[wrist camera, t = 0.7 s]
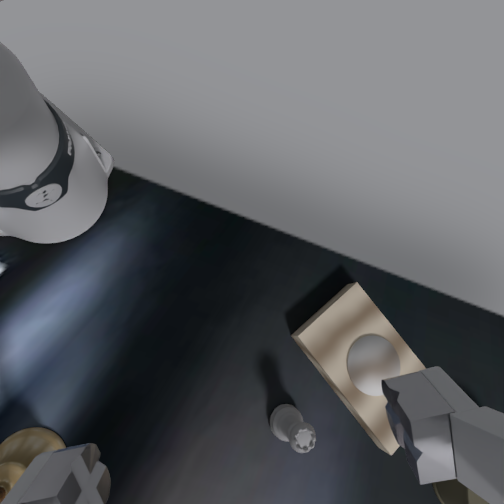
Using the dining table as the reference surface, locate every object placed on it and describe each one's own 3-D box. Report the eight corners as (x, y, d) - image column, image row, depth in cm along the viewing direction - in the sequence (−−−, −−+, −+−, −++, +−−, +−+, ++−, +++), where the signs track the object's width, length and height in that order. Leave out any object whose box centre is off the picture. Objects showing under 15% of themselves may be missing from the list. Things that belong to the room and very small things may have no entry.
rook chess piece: (285, 395, 46) (306, 410, 38) (306, 421, 46) (331, 440, 38) (262, 419, 45) (278, 439, 37) (283, 446, 45) (304, 471, 37)
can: (489, 422, 52) (534, 437, 45) (506, 510, 49) (556, 538, 43) (422, 434, 49) (459, 451, 42) (437, 526, 47) (479, 560, 40)
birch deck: (290, 335, 48) (298, 336, 45) (347, 284, 51) (358, 281, 48) (378, 447, 47) (392, 456, 44) (429, 388, 51) (446, 392, 47)
